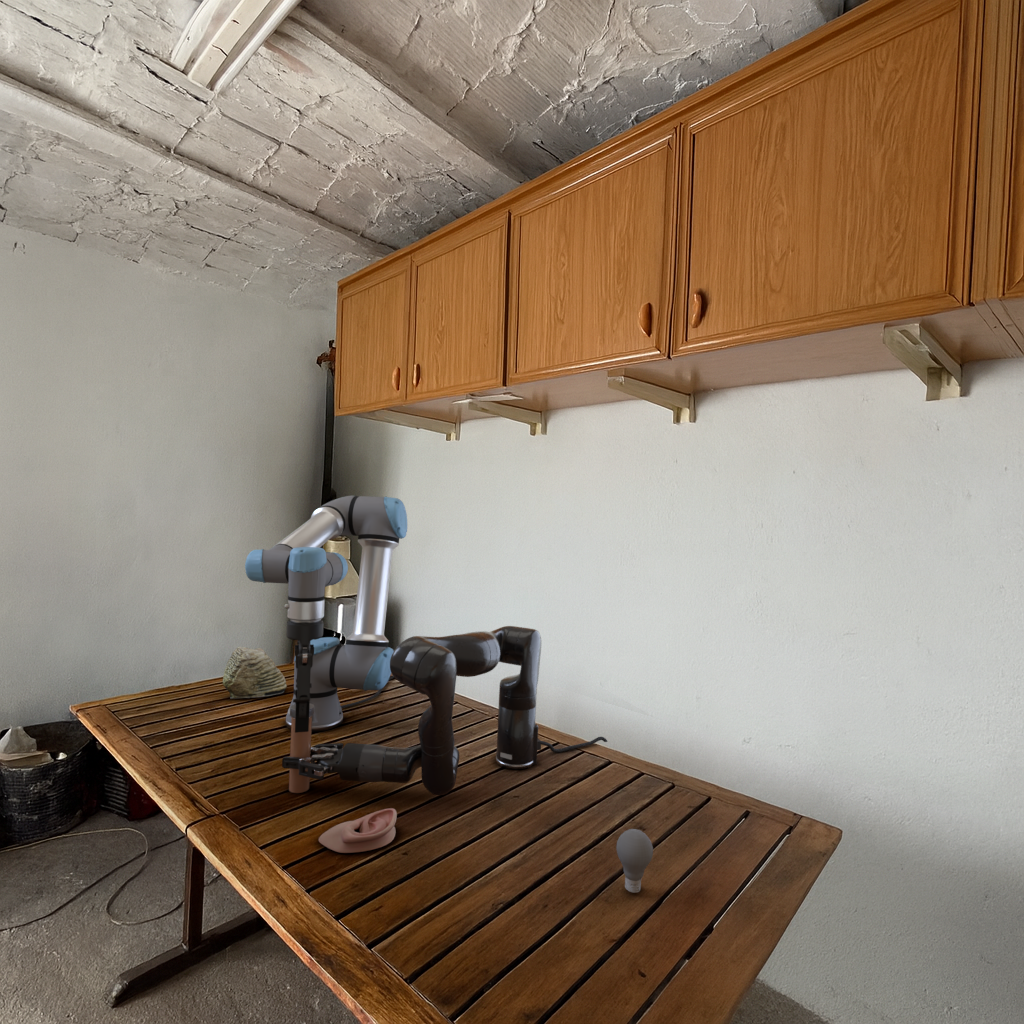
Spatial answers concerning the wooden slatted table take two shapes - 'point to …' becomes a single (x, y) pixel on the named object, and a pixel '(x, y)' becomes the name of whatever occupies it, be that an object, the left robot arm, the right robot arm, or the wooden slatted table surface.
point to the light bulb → (634, 857)
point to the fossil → (252, 674)
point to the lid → (293, 710)
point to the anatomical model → (362, 833)
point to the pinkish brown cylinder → (299, 749)
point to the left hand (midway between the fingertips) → (301, 724)
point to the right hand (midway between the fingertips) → (287, 757)
